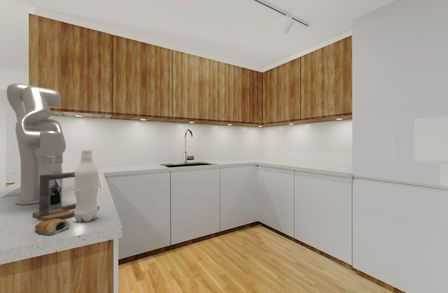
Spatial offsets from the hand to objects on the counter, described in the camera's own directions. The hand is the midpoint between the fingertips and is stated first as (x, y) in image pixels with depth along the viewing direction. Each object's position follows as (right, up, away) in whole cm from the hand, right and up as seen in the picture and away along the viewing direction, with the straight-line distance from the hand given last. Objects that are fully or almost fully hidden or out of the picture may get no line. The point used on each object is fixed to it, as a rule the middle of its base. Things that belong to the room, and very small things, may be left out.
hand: (51, 202), depth 87 cm
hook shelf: (+11, -3, -5) cm, 12 cm away
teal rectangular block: (0, -3, 0) cm, 3 cm away
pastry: (+18, -3, -22) cm, 29 cm away
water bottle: (+23, -3, -12) cm, 26 cm away
